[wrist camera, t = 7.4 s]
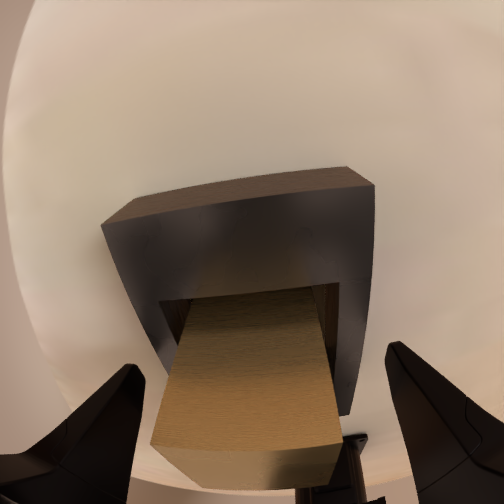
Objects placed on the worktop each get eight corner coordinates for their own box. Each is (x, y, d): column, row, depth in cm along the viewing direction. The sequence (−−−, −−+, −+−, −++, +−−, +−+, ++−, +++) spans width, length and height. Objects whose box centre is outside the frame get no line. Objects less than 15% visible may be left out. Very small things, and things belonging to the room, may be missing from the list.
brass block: (308, 338, 12) (328, 484, 6) (222, 345, 13) (202, 487, 6) (304, 263, 10) (343, 442, 4) (201, 274, 11) (149, 444, 5)
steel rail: (341, 377, 14) (349, 414, 11) (206, 388, 14) (200, 425, 12) (347, 166, 9) (374, 185, 6) (134, 198, 9) (100, 224, 7)
